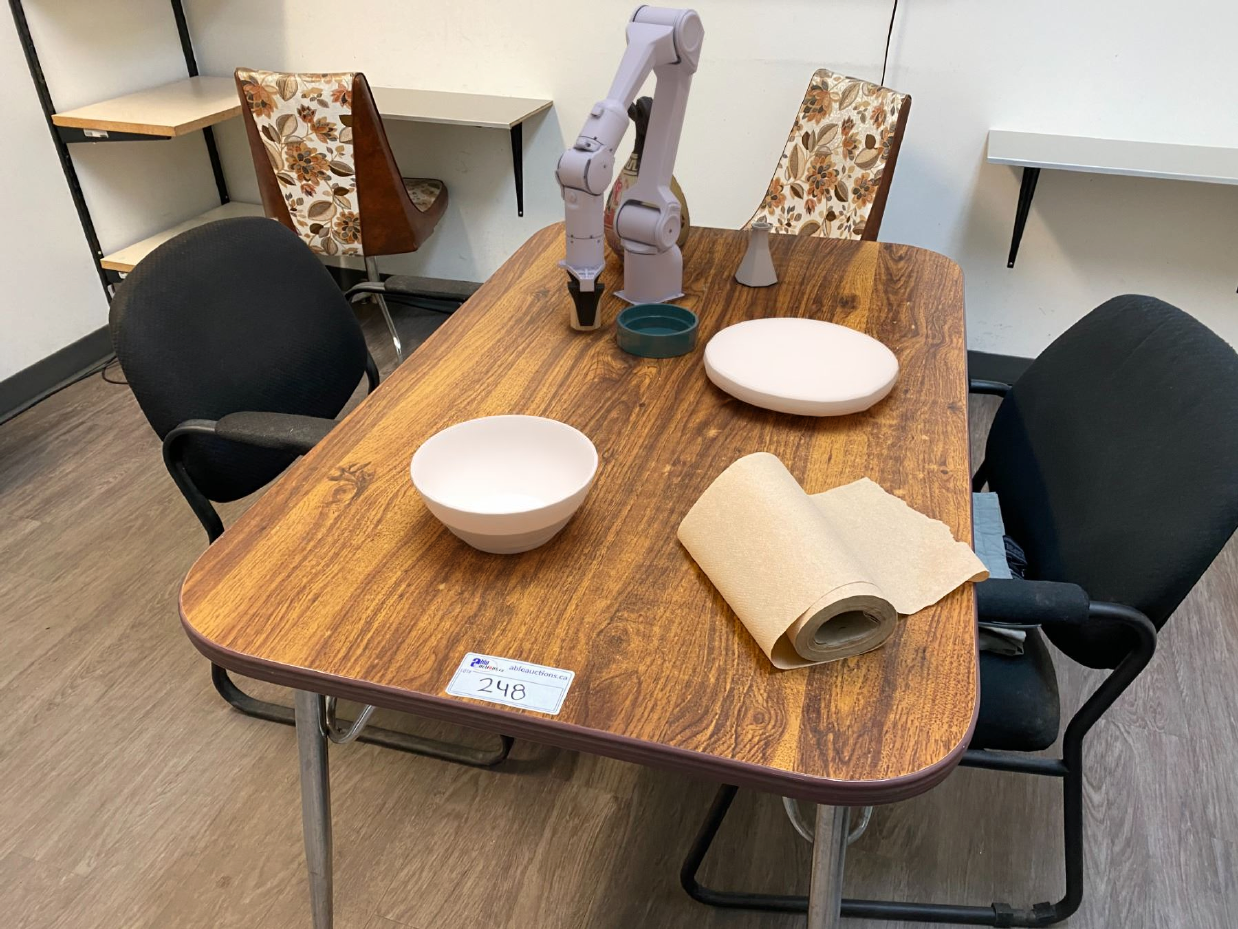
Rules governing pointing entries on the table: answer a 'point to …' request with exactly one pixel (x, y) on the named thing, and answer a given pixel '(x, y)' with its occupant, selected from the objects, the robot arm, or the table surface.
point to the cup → (575, 319)
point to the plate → (801, 366)
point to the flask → (757, 259)
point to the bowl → (505, 479)
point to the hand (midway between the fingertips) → (585, 318)
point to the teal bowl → (657, 330)
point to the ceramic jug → (630, 177)
